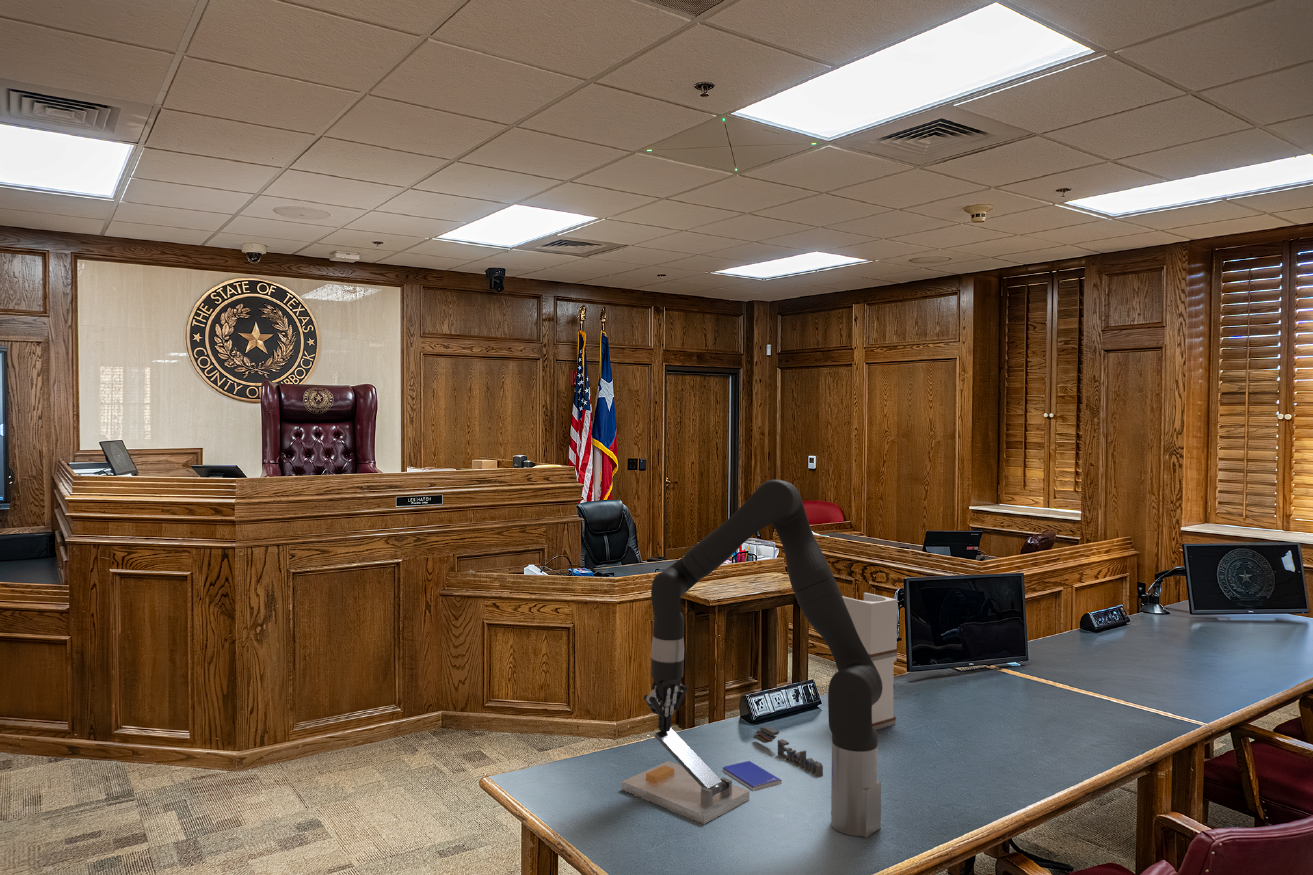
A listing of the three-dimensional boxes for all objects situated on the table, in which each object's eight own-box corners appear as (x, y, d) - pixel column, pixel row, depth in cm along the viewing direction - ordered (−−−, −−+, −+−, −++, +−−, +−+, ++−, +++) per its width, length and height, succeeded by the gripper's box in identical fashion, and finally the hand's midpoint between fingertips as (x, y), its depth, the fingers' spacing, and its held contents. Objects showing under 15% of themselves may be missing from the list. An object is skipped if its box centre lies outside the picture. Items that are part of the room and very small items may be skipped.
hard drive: (781, 778, 193) (750, 760, 204) (753, 785, 189) (722, 766, 200) (781, 785, 193) (750, 766, 204) (753, 792, 189) (722, 772, 200)
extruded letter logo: (752, 742, 218) (753, 721, 218) (757, 741, 219) (757, 720, 219) (817, 777, 197) (818, 753, 197) (822, 775, 198) (823, 752, 198)
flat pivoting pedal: (724, 791, 182) (728, 785, 181) (710, 798, 178) (713, 792, 178) (668, 731, 193) (671, 725, 193) (653, 737, 189) (656, 731, 189)
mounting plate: (749, 799, 184) (749, 777, 184) (703, 824, 172) (704, 800, 172) (668, 768, 200) (668, 748, 200) (621, 789, 189) (621, 768, 189)
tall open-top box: (895, 724, 232) (897, 599, 232) (869, 731, 226) (871, 603, 226) (864, 712, 242) (865, 592, 241) (838, 719, 236) (840, 596, 236)
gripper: (660, 665, 183) (657, 743, 183) (698, 654, 192) (695, 728, 193) (635, 657, 188) (632, 733, 188) (674, 647, 197) (671, 719, 198)
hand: (664, 730), depth 191 cm, fingers closed
